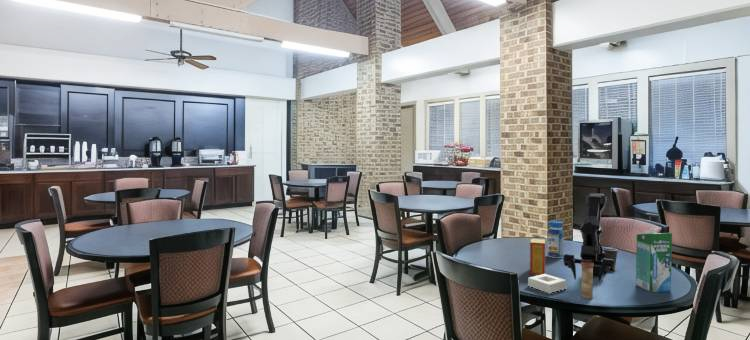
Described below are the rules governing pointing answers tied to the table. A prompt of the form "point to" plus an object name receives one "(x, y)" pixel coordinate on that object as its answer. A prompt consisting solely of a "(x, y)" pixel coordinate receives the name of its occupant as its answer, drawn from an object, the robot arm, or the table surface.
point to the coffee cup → (610, 253)
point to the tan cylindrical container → (587, 279)
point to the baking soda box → (537, 256)
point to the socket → (547, 283)
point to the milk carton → (654, 261)
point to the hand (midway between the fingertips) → (586, 280)
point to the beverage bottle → (555, 240)
